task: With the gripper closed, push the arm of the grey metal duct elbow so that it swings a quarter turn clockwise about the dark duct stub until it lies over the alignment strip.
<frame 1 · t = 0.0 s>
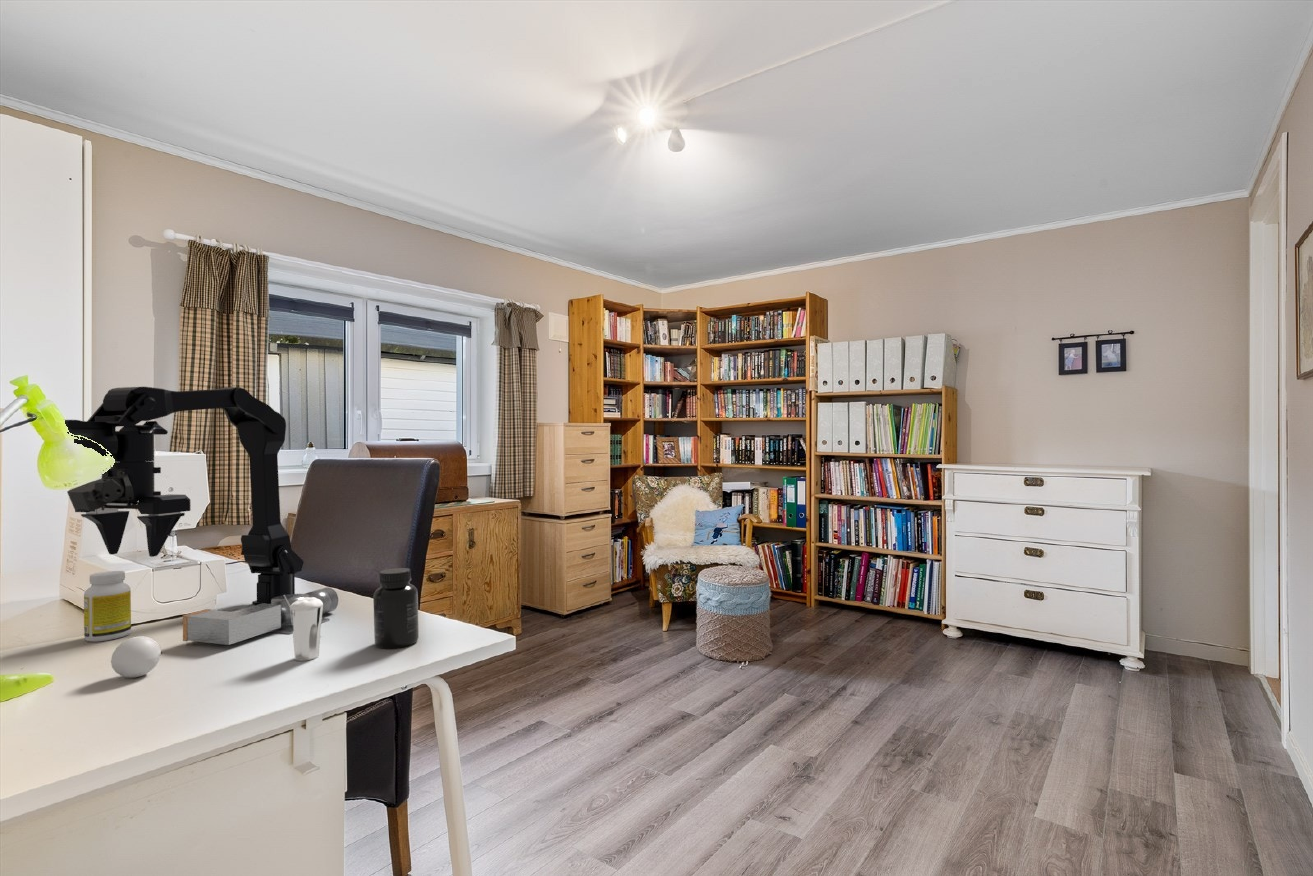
hand: (133, 555, 109), 15 cm above the table, tool pointing down, fingers open, 9 cm apart
supplement bottle: (396, 644, 107), on the table
white egg 2: (136, 675, 94), on the table
alignment strip: (242, 625, 119), on the table
duct stub: (290, 625, 119), on the table
milkshake: (304, 659, 100), on the table
elbow: (233, 622, 111), point 3 cm above the table, hinge at 0.0°
pill bottle: (108, 638, 112), on the table
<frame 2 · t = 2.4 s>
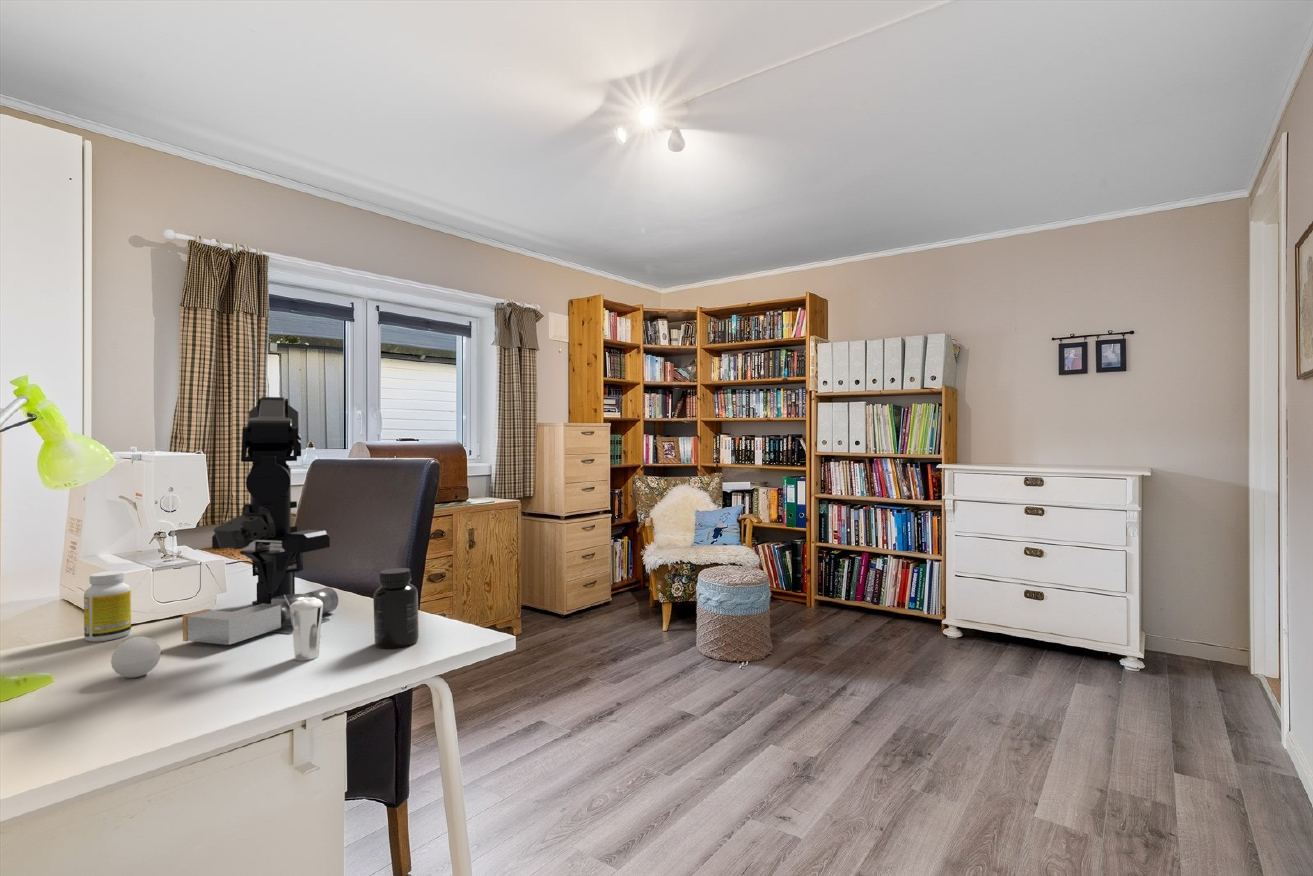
hand: (271, 592, 106), 9 cm above the table, tool pointing down, fingers closed
nothing on the table moved.
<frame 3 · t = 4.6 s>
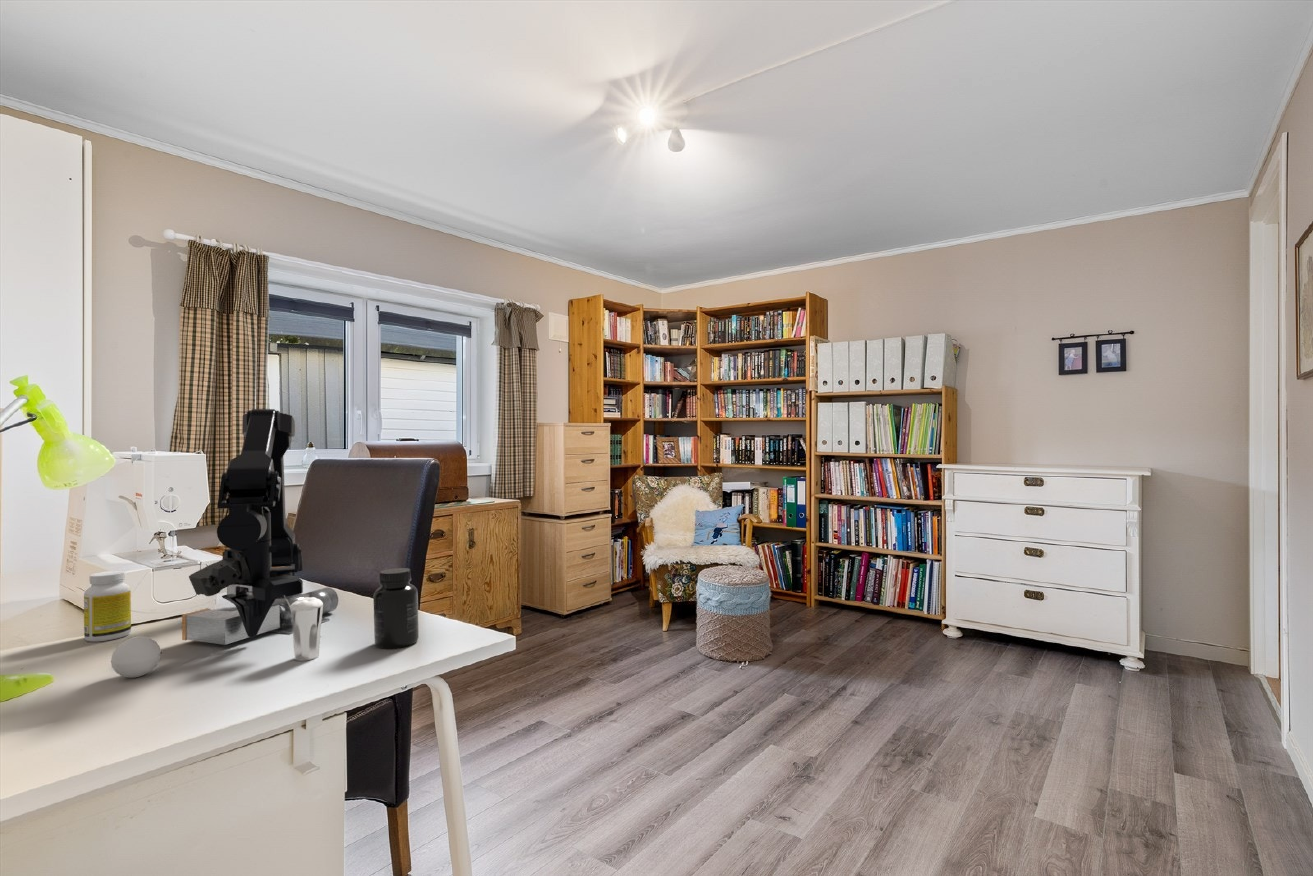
hand: (252, 636, 107), 1 cm above the table, tool pointing down, fingers closed
elbow: (232, 621, 111), point 3 cm above the table, hinge at 2.7°, touching gripper
everything else where it was.
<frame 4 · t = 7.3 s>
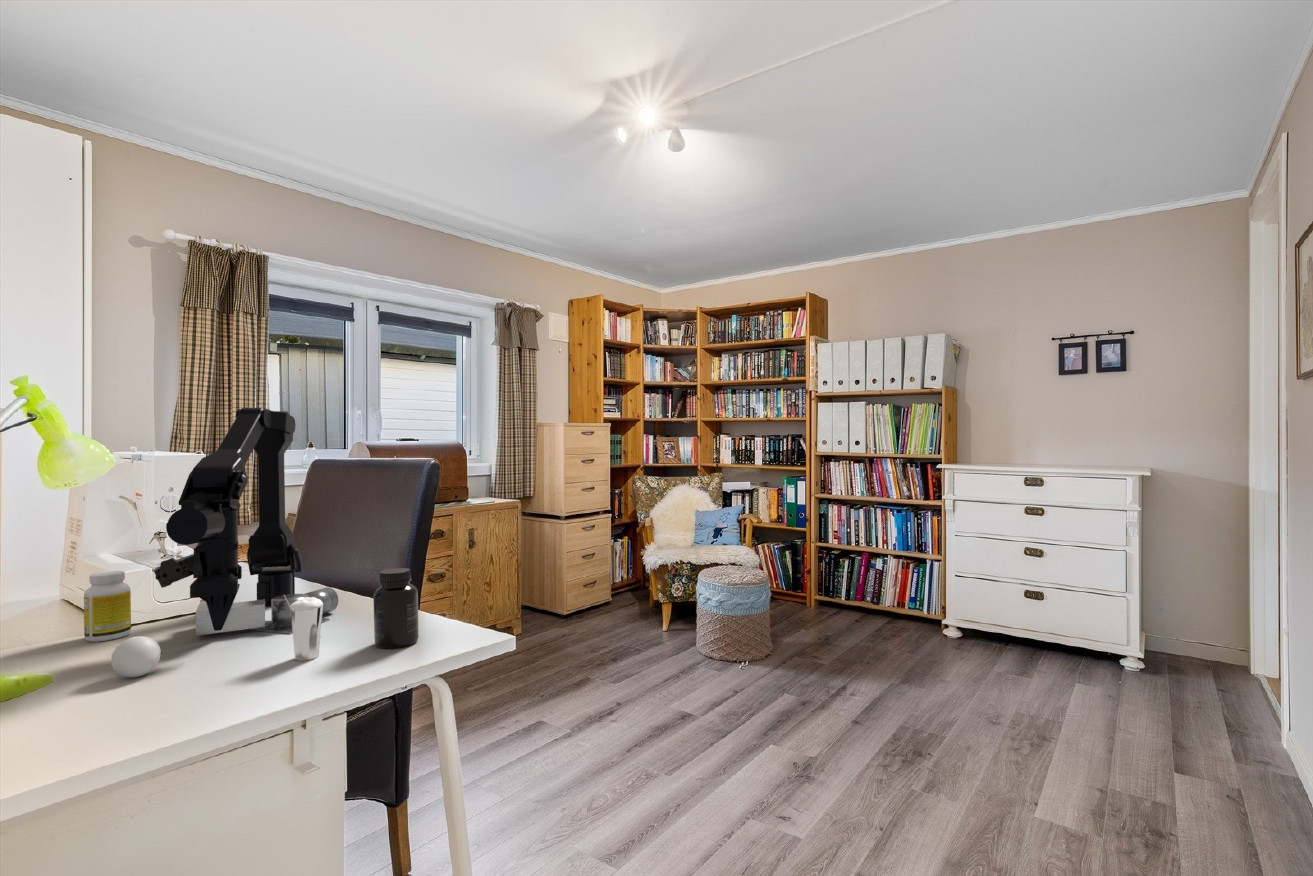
hand: (218, 630, 110), 2 cm above the table, tool pointing down, fingers closed
elbow: (232, 613, 116), point 3 cm above the table, hinge at 43.3°, touching gripper
everything else where it was.
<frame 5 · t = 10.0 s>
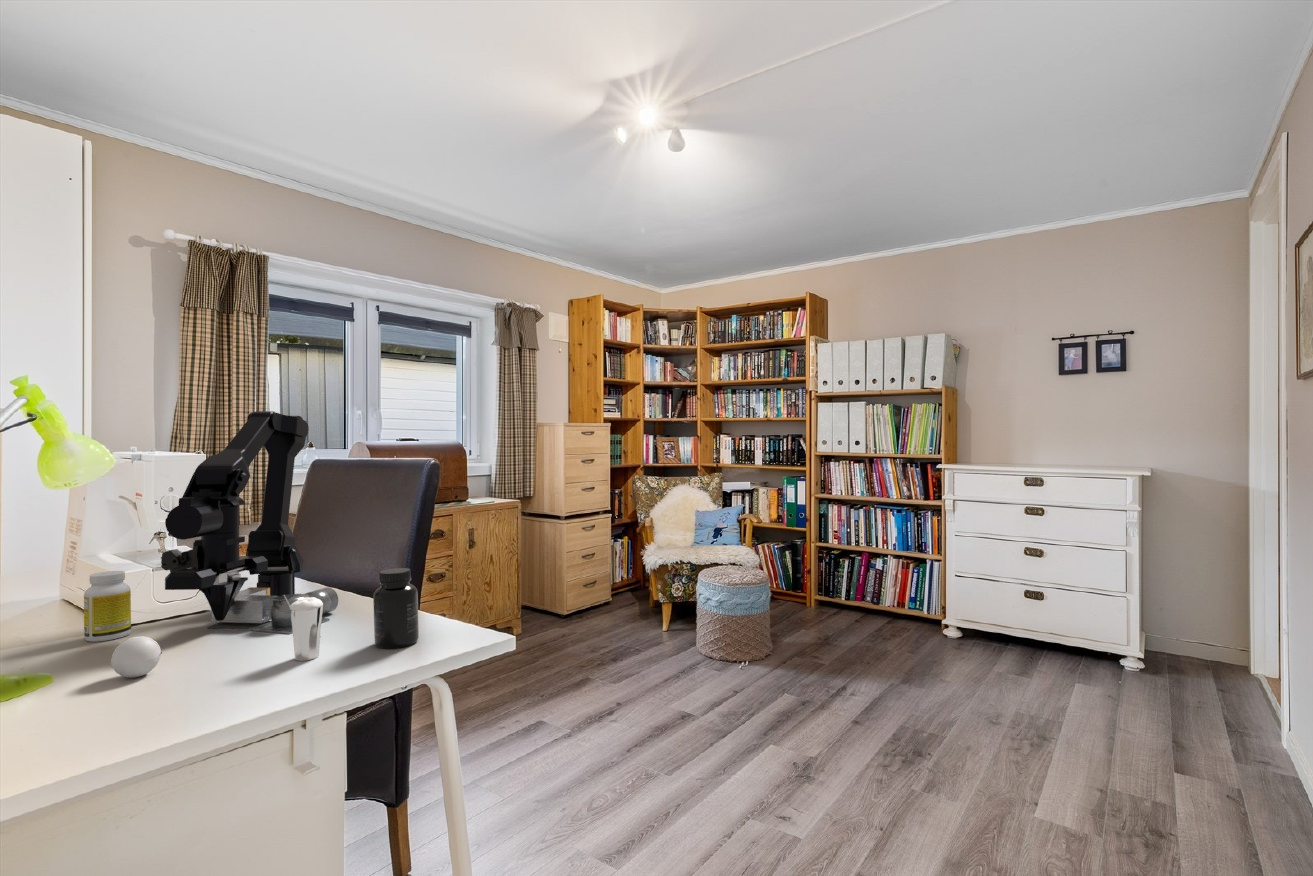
hand: (220, 620, 116), 2 cm above the table, tool pointing down, fingers closed
elbow: (256, 604, 122), point 3 cm above the table, hinge at 80.1°, touching gripper
everything else where it was.
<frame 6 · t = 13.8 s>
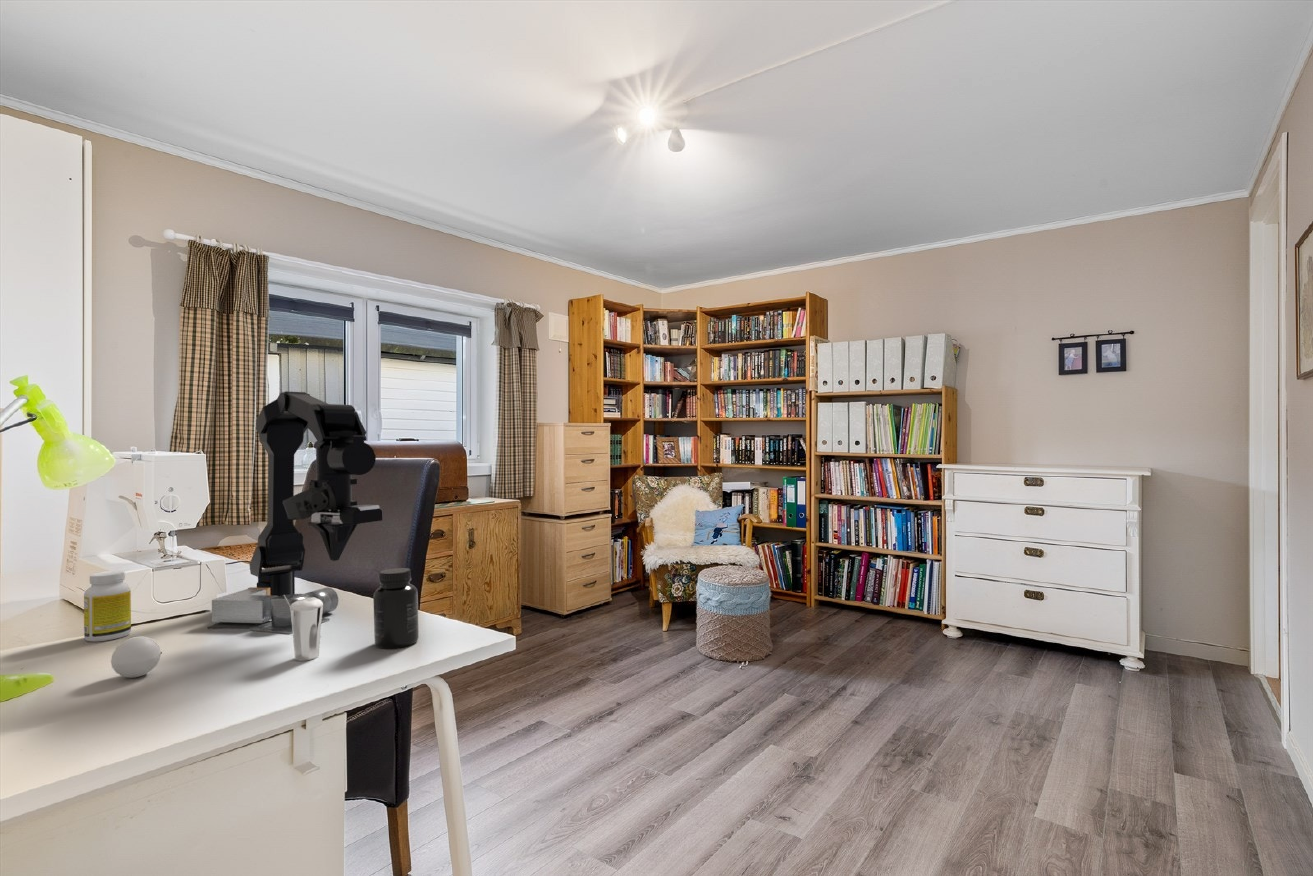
hand: (334, 560, 117), 12 cm above the table, tool pointing down, fingers closed
elbow: (256, 604, 122), point 3 cm above the table, hinge at 80.3°
everything else where it was.
at the end: elbow at +80° (first picture: +0°); elbow touching nothing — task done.
